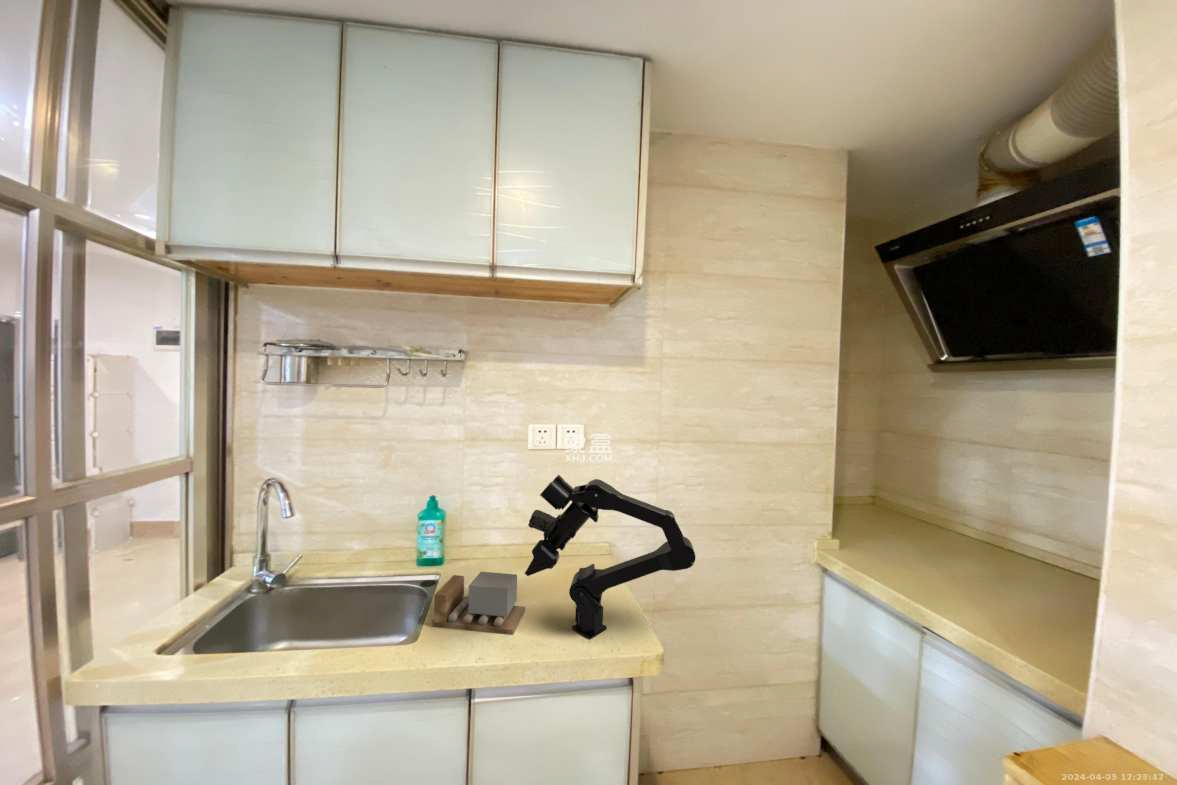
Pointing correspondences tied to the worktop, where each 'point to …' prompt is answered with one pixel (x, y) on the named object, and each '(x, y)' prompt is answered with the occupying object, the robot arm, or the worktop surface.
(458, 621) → the roller bed
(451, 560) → the worktop surface
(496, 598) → the gray rectangular block
